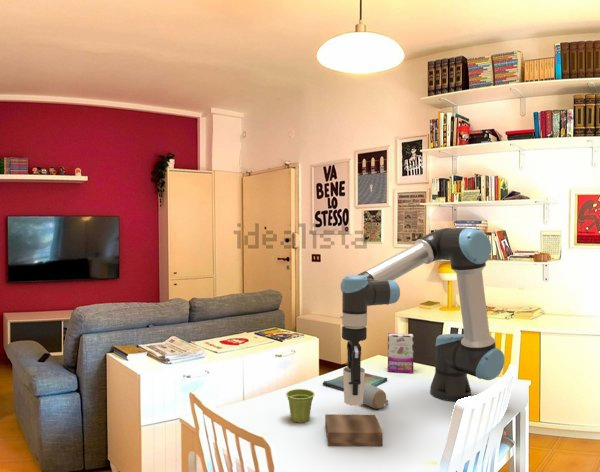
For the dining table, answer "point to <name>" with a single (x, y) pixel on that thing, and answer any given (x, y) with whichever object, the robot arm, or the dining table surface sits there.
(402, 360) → the candy bar box
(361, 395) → the beige hollow cylinder
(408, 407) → the dining table surface
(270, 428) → the dining table surface
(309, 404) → the plant pot
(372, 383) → the dish towel
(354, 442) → the walnut riser block
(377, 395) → the ceramic mug
